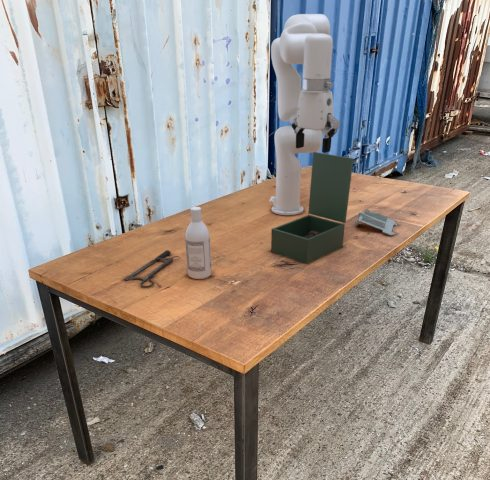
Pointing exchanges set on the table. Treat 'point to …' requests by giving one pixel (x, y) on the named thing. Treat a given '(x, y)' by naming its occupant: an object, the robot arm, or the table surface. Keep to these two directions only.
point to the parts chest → (307, 250)
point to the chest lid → (330, 186)
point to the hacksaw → (154, 270)
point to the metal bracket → (376, 221)
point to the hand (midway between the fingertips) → (312, 149)
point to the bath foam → (198, 246)
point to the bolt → (312, 234)
